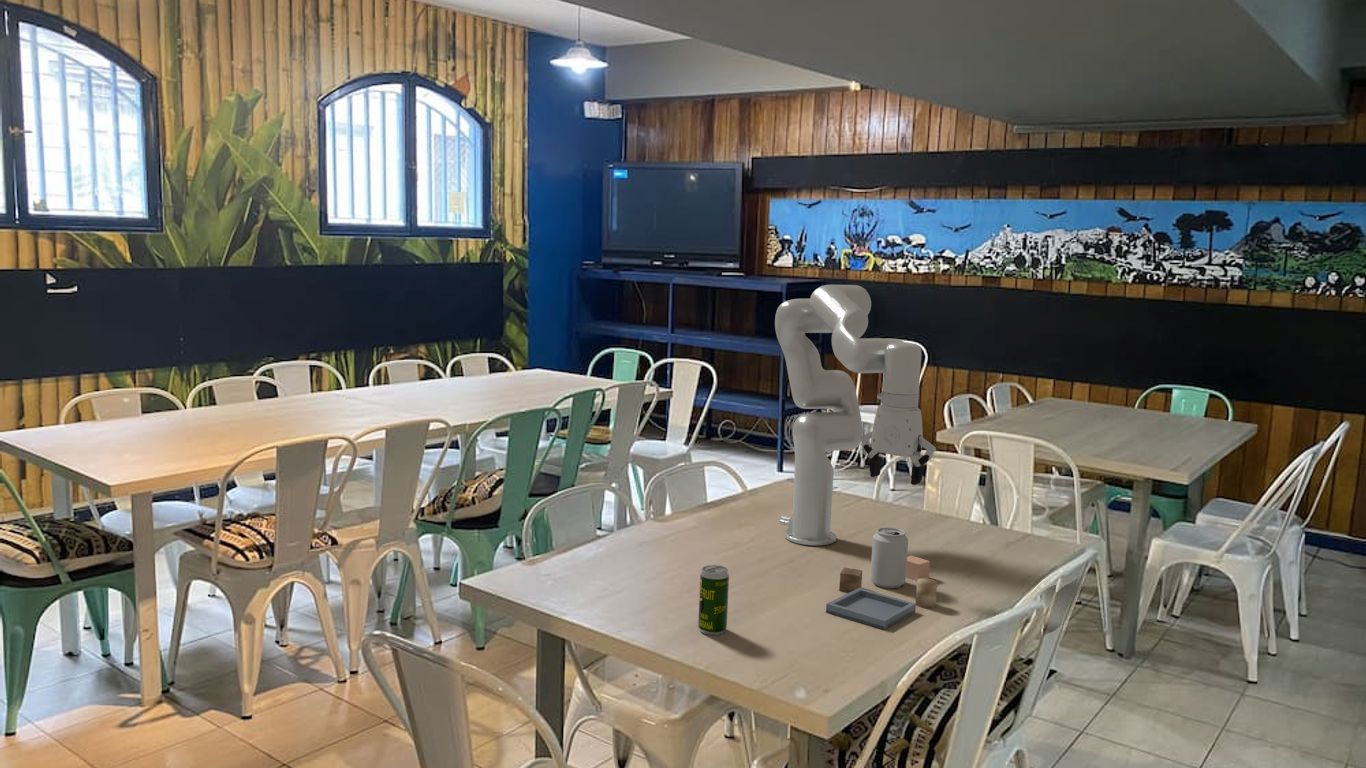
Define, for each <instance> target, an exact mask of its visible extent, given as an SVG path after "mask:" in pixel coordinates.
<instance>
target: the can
mask: <svg viewBox="0 0 1366 768" xmlns="http://www.w3.org/2000/svg"><path fill="white" fill-rule="evenodd" d="M875 531H876V532H875V534H873V535H872V545H871V559H870V560H871V563H870V575H869V576H870V578H869V579H870V581H872V583H873V584H874V585H875V586H877V587H880V588H885V589H897V588H901V586H902V585H904V584H905V583H906V579H907V578H906V564H907V557H908V550H909V549H908V547H909V539H908V537H907V536H906V531H905V530H903V529H901V528H897V527H892V526H891V527H889V526H888V527H887V526H883V527H878V528H876V530H875Z"/></svg>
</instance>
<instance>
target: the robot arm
mask: <svg viewBox="0 0 1366 768" xmlns="http://www.w3.org/2000/svg"><path fill="white" fill-rule="evenodd" d="M871 308H872V300H871V296H870V294H869V293H868V291H867V289H866V288H864V287H862V286H860V285H856V284H825V285H821V286H819V287H818V288H816V289H814V291H813V292H812V293H811V295H810V298H794V299H789V300H785V301H783V302H782V303H781V304H779V305H778V307H777V309H776V312H775V317H774V318H775V319H774V328H775V334H776V338H777V340H778V343H779V345H780V346H779V347H781V351H782V353H783V356H784V359H785V363H786V364H785V365H786V370H787V375H788V381H789V386H790V392H791V396H792V400H793V402H794V404H795V406H797V407H798V408H799V409H805V410H806V409H808V410H809V409H811V410H812V409H813V410H817V409H822V410H823V409H831V410H832V411H830V412H828V411H825V412H823V411H822V412H820V411H819V412H809V413H804V414H802V415H799V417H797V418H796V419H795V421H794V422H793V425H792V440H793V447H794V473H793V474H794V478H793V482H794V483H793V499H792V513H791V514H792V515H791V516H792V517H791V516H789V515H785V514H783V515H782V516H781V517H780V520H779V524H780V525H783V526H787V529H786V531H785V532H784V537H785V539H787V541H790V542H792V543H794V544H798V545H804V546H826V545H830V544H833V543H835V542H836V541H837V535H836V533H835V532H833V531H831V525H832V524H831V522H832V520H831V519H832V507H833V506H832V504H833V488H834V473H835V472H834V466H833V463H832V462H831V460H830V459H829V457H828V456H827V454H826V453H828V452H833V451H834V452H837V451H849V450H850V451H851V450H855V449H857V448H858V447H859V446H860V445H861V444H862V446H863V450H864V451H865V453H866V454H867V458H869V472H870V475H869V476H870V477H872V478H874V477H879V476H880V475H881V468H882V467H881V463H882V457H881V456H880V455H881V454H887V455H892V456H897V457H903V458H910V459H911V462H912V463H913V464H914V465H913V466H912V467H911V478H910V484H911V485H912V486H916V485H919V484H920V483H921V482H922V481H923V472H924V465H926V464H927V463H928V462H929V461H930V460H931V459H932V457H933V455H934V454H935V452H936V451H937V447H936V446H934V444H932V443H931V442H929V441H928V440H927V439H926V438H924V437H923V436H924V434H923V432H924V429H923V418H922V417H923V416H922V412H921V411H922V410H921V409H920V408H919V407H918V406H919V396H920V394H919V393H920V378H921V376H920V375H921V363H922V349H921V347H920V346H919V345H918V344H916V343H912V342H905V341H903V340H901V339H899V338H892V337H891V338H883V337H882V338H880V337H877V338H876V337H873V338H871V337H870V338H868V337H867V338H862V336H863V335H864V334H865V332H866V330H867V329H868V326H869V325H868V324H869V318H868V317H869V316H868V315H869V313H871V310H872V309H871ZM806 333H809V334H812V333H813V334H816V333H817V334H818V333H819V334H830V333H831V347H832V351H833V354H834V356H835V358H836V359H837V360H838V361H839V362H840V364H842V365H843V366H844V367H845V368H846V369H847V370H849V371H850V372H853V373H856V374H876V373H877V374H883V379H882V380H883V381H882V391H881V392H878V393H877V396H876V398H877V399H878V400H880V402H881V404H879V405H878V406H877V408H876V411H875V415H874V420H873V426H872V431H870V432H868V433H865V434H864V428H863V427H864V426H863V420H862V416H861V409H860V406H859V401H858V396H857V391H856V386H855V383H854V382H853V378H852V377H851V376H850V375H849V374H848V373H847V372H845V371H843V370H838V369H829V370H828V369H825V368H823V366H822V361H821V355H820V353H819V350H818V349H817V347H816V346H815V344H814V343H813V341H811V339H810V338H809V337H807V336H806ZM923 449H924V450H925V453H924V455H922V454H921V453H922V450H923Z"/></svg>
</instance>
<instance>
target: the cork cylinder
mask: <svg viewBox="0 0 1366 768" xmlns="http://www.w3.org/2000/svg"><path fill="white" fill-rule="evenodd" d="M937 588H938V582H937V581H936V580H935V579H932V578H928V579H927V578H921V579H918V580H917V581H916V593H915V604H916V606H917V607H919V608H923V609H934V608H936V602H937V592H938V591H937Z"/></svg>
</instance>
